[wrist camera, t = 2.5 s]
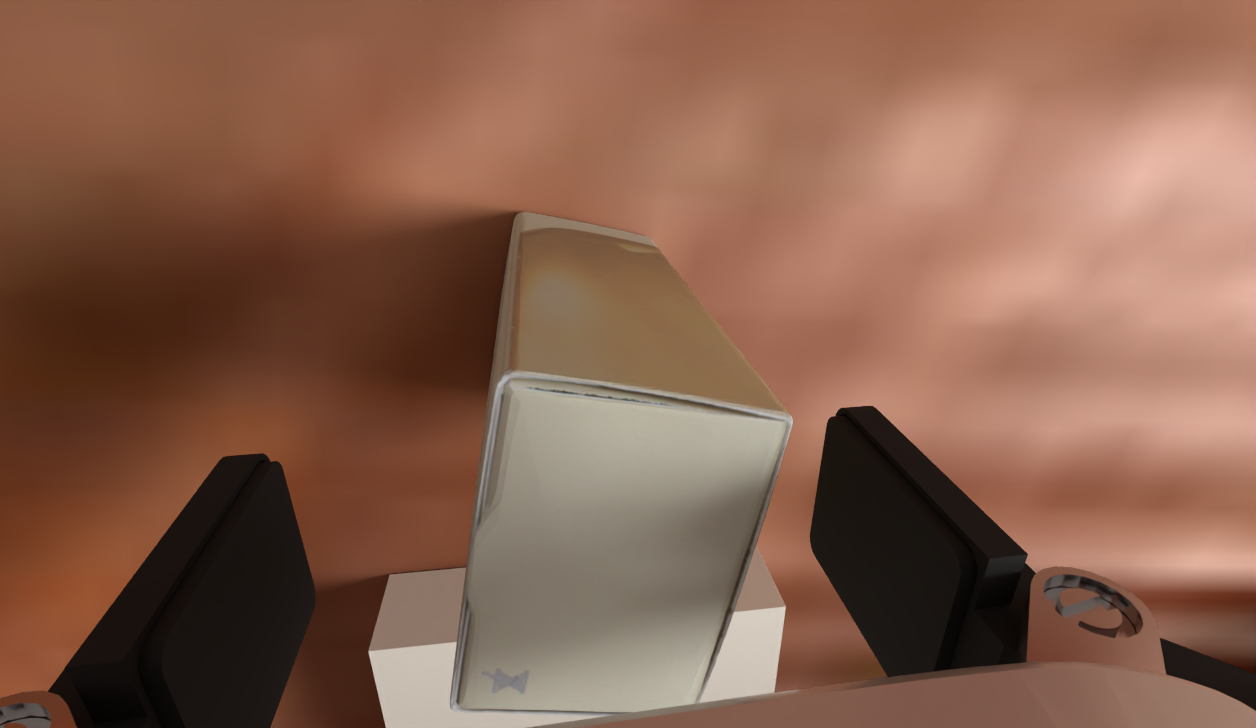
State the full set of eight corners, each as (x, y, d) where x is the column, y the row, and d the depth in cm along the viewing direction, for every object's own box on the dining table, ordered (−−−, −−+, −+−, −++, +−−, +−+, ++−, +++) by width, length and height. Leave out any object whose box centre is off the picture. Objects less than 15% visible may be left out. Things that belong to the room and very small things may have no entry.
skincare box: (614, 407, 22) (696, 737, 11) (486, 391, 21) (441, 732, 10) (656, 224, 20) (813, 417, 9) (514, 197, 19) (492, 375, 8)
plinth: (754, 540, 26) (785, 606, 22) (730, 768, 31) (753, 846, 28) (389, 574, 24) (368, 651, 21) (436, 809, 30) (425, 897, 27)
